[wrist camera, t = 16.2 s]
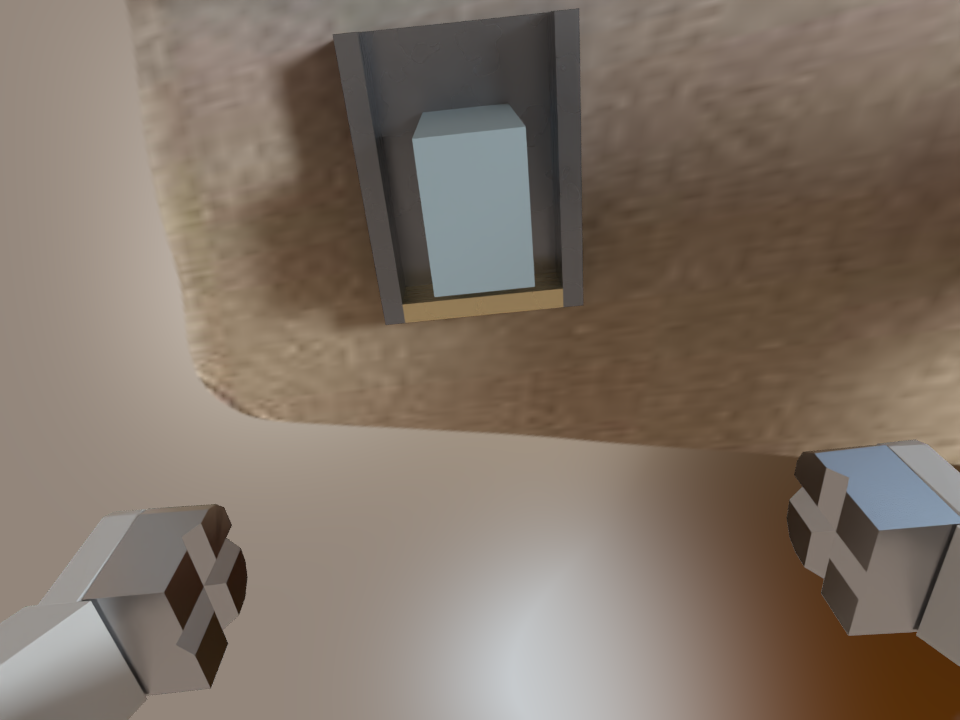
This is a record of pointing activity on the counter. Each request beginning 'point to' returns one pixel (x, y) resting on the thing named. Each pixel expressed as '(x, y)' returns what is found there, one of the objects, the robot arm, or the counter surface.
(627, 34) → the counter surface
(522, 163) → the block
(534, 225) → the keeper
